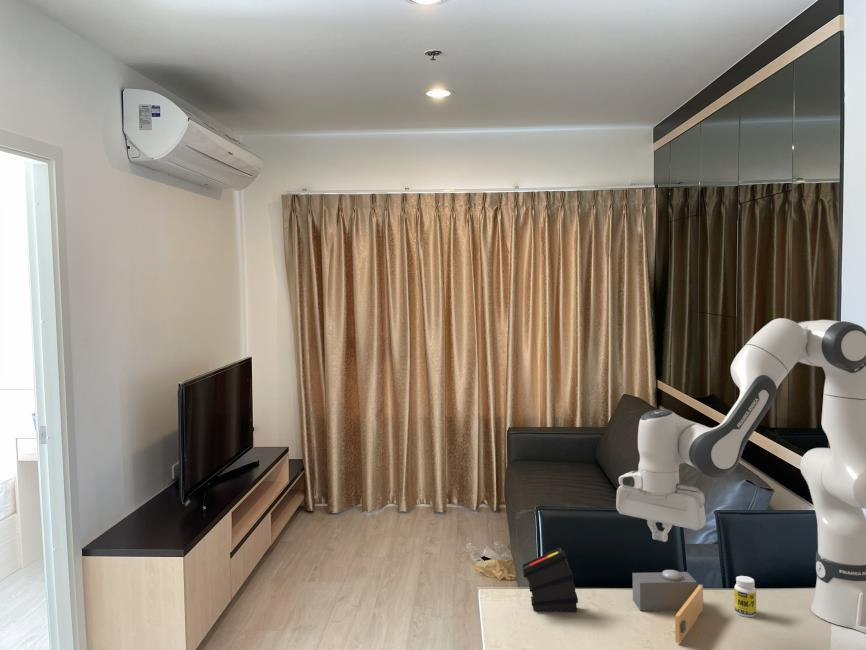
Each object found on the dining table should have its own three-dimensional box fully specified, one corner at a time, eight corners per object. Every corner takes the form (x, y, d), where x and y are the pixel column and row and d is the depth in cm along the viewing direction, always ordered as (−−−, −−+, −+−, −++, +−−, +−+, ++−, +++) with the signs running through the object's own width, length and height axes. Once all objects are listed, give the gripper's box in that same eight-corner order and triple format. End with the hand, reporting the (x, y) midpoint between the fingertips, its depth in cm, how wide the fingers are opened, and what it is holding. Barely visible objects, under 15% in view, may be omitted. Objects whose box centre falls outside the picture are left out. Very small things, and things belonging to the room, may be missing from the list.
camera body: (687, 598, 166) (687, 568, 165) (696, 609, 160) (696, 577, 159) (632, 599, 166) (632, 569, 165) (640, 610, 160) (639, 578, 159)
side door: (700, 607, 159) (699, 583, 159) (705, 609, 159) (705, 585, 158) (675, 642, 144) (675, 615, 143) (682, 644, 143) (681, 617, 143)
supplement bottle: (736, 616, 156) (735, 581, 156) (733, 607, 160) (732, 574, 160) (757, 618, 155) (757, 584, 154) (754, 609, 159) (754, 576, 159)
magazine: (590, 606, 159) (563, 552, 159) (541, 628, 160) (514, 573, 160) (588, 599, 163) (561, 546, 163) (540, 620, 164) (514, 567, 164)
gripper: (709, 485, 144) (711, 546, 144) (624, 471, 158) (626, 527, 159) (698, 491, 139) (699, 554, 140) (612, 476, 154) (613, 534, 154)
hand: (660, 539), depth 149 cm, fingers closed
